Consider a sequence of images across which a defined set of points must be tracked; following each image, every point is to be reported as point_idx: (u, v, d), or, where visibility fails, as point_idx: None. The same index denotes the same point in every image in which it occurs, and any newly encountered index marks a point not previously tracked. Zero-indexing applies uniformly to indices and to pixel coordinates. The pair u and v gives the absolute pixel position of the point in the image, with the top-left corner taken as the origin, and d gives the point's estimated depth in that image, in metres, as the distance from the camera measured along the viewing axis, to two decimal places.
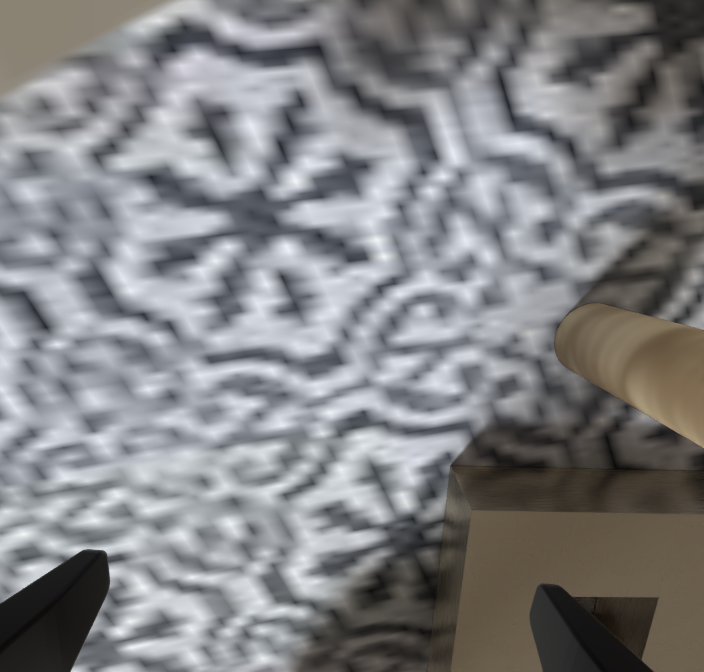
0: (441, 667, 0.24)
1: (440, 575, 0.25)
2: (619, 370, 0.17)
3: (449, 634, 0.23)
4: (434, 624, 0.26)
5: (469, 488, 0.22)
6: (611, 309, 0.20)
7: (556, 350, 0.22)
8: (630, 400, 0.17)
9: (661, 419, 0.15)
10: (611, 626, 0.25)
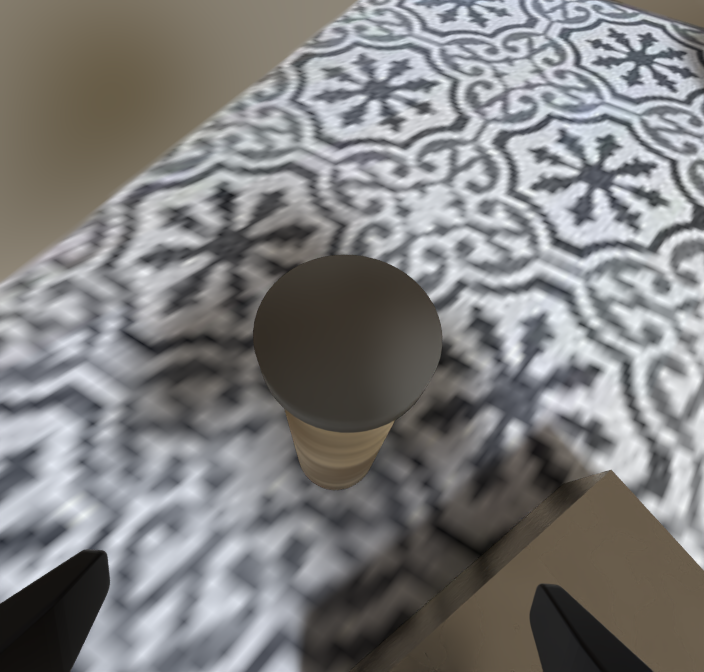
0: None
1: None
2: (298, 448, 0.16)
3: None
4: None
5: None
6: None
7: (312, 481, 0.20)
8: (323, 466, 0.15)
9: (326, 458, 0.14)
10: None
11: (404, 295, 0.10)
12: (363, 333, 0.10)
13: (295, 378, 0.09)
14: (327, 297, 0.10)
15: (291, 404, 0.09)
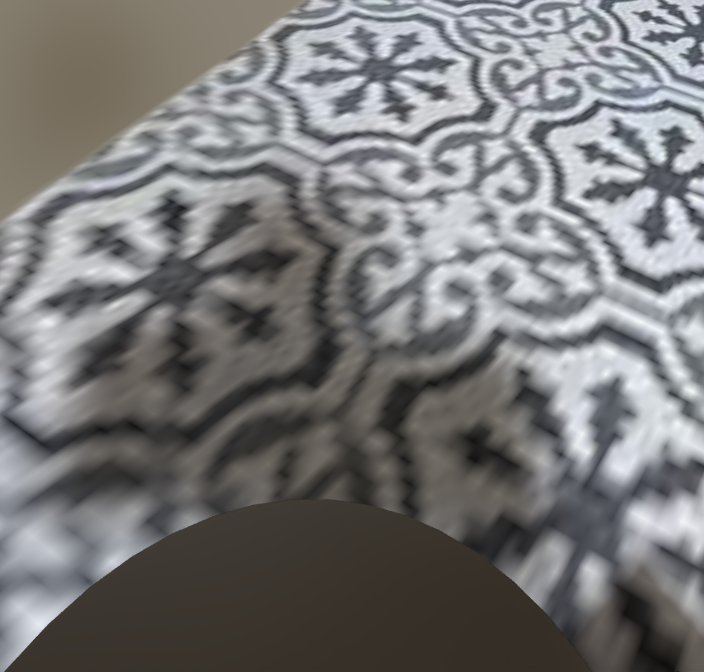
0: None
1: None
2: None
3: None
4: None
5: None
6: None
7: None
8: None
9: None
10: None
11: None
12: None
13: None
14: None
15: None
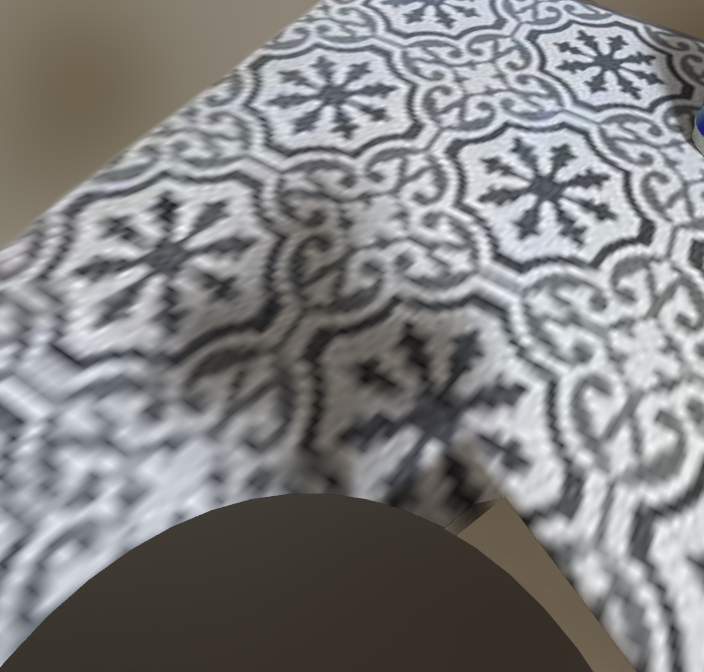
0: None
1: None
2: None
3: None
4: None
5: None
6: None
7: None
8: None
9: None
10: None
11: None
12: None
13: None
14: None
15: None
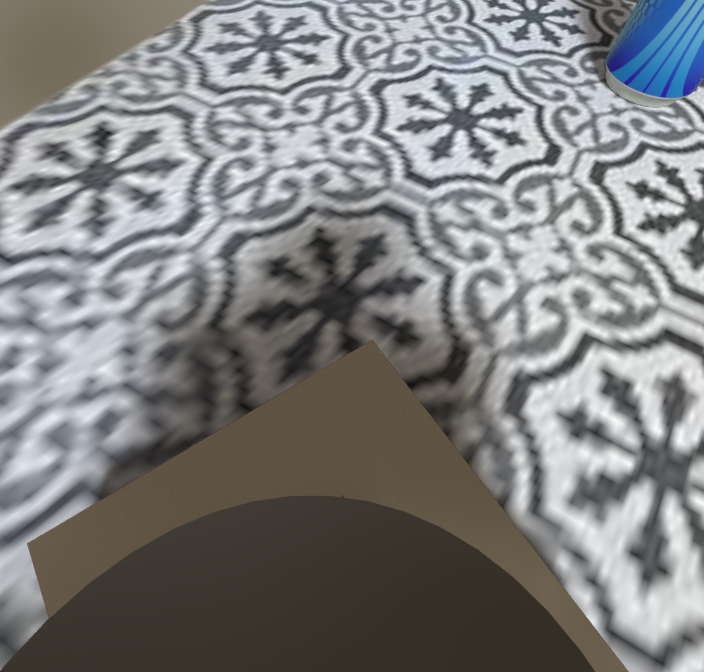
0: None
1: None
2: None
3: None
4: None
5: None
6: None
7: None
8: None
9: None
10: None
11: None
12: None
13: None
14: None
15: None
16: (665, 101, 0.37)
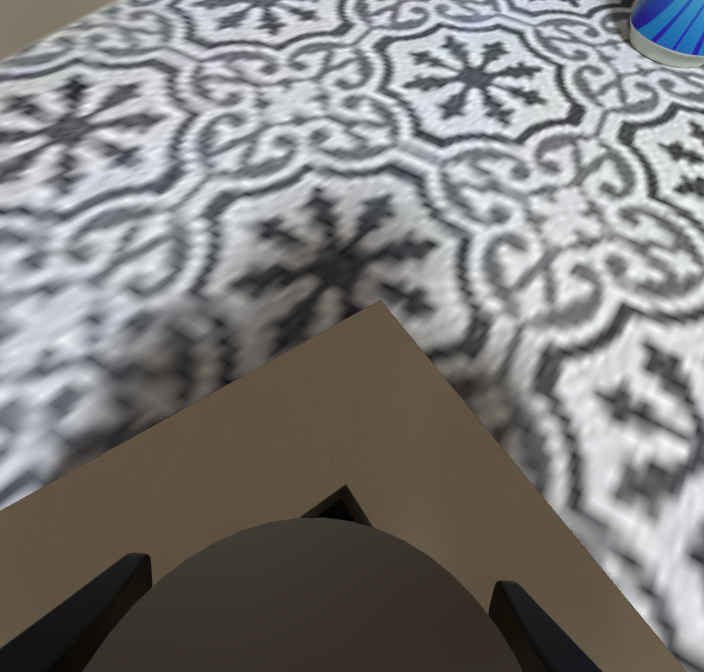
0: None
1: None
2: None
3: None
4: None
5: None
6: None
7: None
8: None
9: None
10: None
11: (454, 660, 0.04)
12: None
13: None
14: None
15: None
16: (696, 61, 0.34)
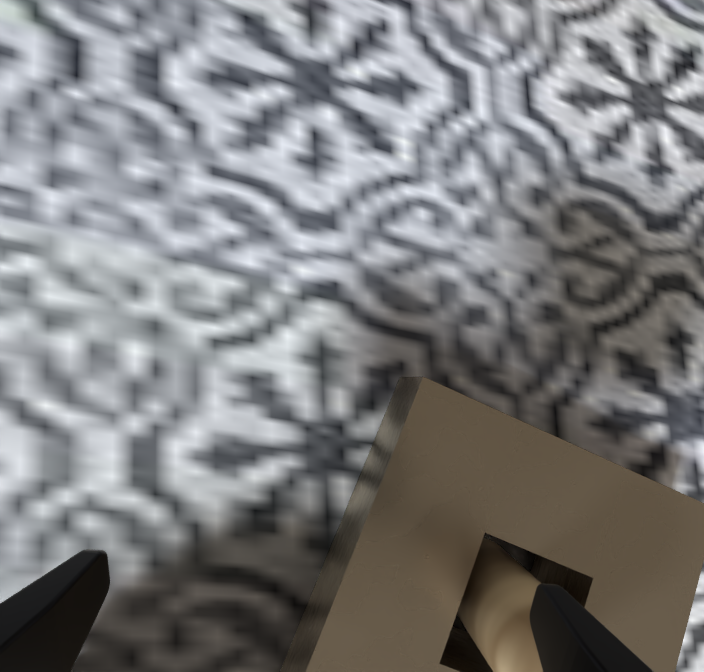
0: (311, 630, 0.18)
1: (347, 511, 0.20)
2: (493, 632, 0.16)
3: (343, 562, 0.18)
4: (315, 588, 0.20)
5: None
6: (501, 554, 0.20)
7: None
8: None
9: None
10: None
11: None
12: None
13: None
14: None
15: None
16: None
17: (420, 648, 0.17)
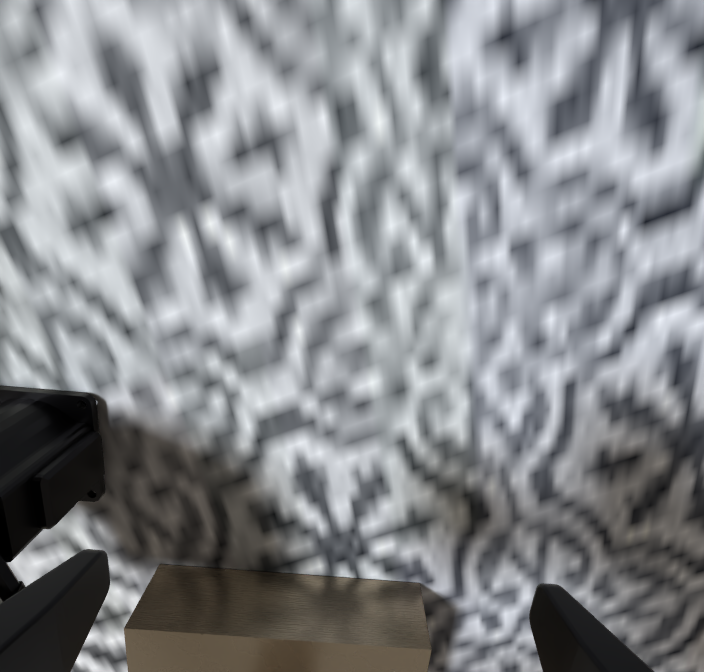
0: (210, 607, 0.22)
1: (299, 581, 0.24)
2: None
3: (266, 622, 0.22)
4: (234, 575, 0.24)
5: None
6: None
7: None
8: None
9: None
10: None
11: None
12: None
13: None
14: None
15: None
16: None
17: None
